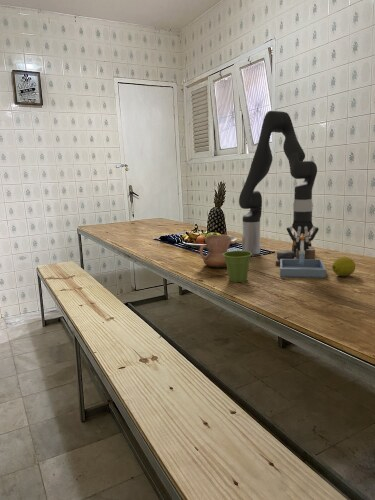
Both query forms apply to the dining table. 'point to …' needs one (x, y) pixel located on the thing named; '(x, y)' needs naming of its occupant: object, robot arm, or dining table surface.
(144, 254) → the dining table surface
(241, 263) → the plant pot
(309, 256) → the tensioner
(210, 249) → the ceramic jug
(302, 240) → the lock pin
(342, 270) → the lemon
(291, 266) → the tray
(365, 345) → the dining table surface
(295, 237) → the ammunition clip
